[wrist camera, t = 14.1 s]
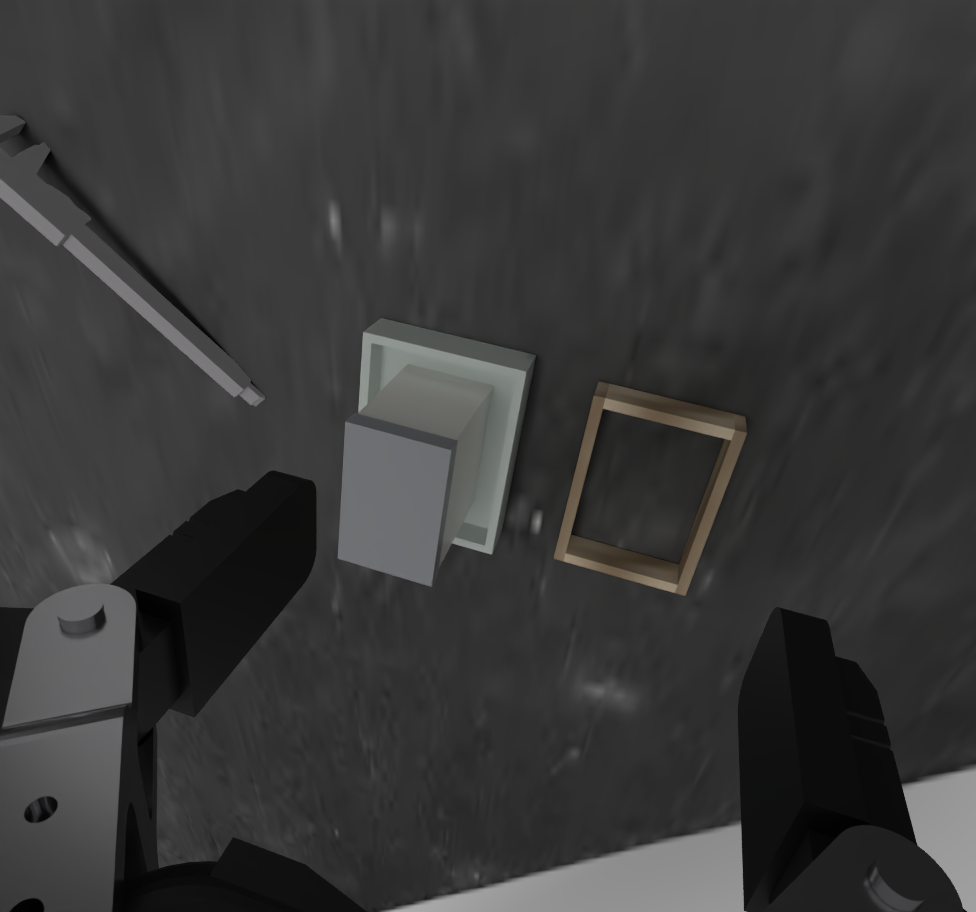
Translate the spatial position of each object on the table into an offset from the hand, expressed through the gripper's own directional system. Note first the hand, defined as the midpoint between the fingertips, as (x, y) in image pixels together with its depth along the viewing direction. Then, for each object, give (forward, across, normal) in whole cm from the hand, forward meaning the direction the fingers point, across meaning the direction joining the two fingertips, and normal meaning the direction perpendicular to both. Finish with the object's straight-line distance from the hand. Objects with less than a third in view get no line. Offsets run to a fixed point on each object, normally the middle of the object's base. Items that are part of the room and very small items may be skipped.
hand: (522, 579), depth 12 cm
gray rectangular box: (+25, +9, +12) cm, 30 cm away
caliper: (+26, +29, +6) cm, 39 cm away
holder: (+26, -3, +12) cm, 29 cm away
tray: (+26, +9, +12) cm, 30 cm away
